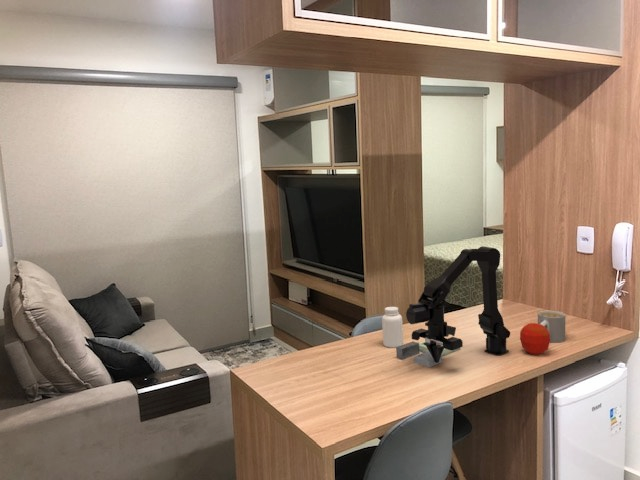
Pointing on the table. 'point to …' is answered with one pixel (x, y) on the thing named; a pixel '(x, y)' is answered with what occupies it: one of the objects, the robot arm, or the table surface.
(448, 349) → the robot arm
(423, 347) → the tray
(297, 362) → the table surface
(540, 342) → the apple
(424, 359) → the board
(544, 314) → the coffee mug
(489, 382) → the table surface
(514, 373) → the table surface
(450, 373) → the table surface
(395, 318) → the pill bottle
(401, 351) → the dark gray block
